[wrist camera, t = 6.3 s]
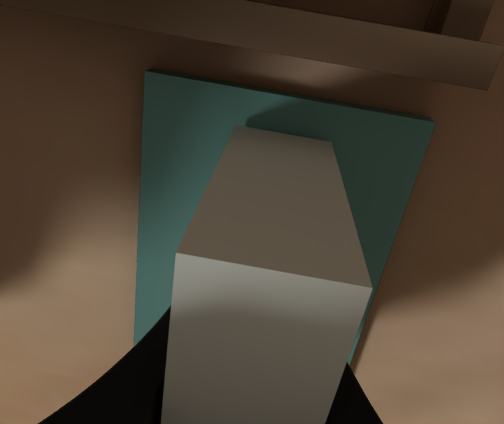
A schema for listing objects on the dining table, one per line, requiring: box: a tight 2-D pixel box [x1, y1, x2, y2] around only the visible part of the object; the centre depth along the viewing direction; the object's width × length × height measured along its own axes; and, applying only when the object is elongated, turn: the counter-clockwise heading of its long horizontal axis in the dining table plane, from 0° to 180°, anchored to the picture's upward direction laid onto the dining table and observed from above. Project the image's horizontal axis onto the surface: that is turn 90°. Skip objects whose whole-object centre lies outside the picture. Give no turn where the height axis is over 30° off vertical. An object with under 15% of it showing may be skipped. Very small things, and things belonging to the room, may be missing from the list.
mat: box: [134, 68, 436, 365], centre depth 16 cm, size 12×9×1 cm
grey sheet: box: [161, 125, 373, 424], centre depth 12 cm, size 9×3×8 cm, turn 171°
